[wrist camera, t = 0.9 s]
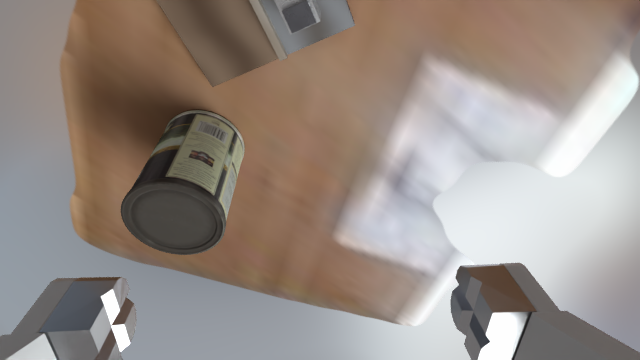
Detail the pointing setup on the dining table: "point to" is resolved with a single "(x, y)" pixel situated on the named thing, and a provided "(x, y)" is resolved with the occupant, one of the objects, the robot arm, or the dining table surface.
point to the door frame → (246, 32)
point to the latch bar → (299, 13)
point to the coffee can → (186, 185)
